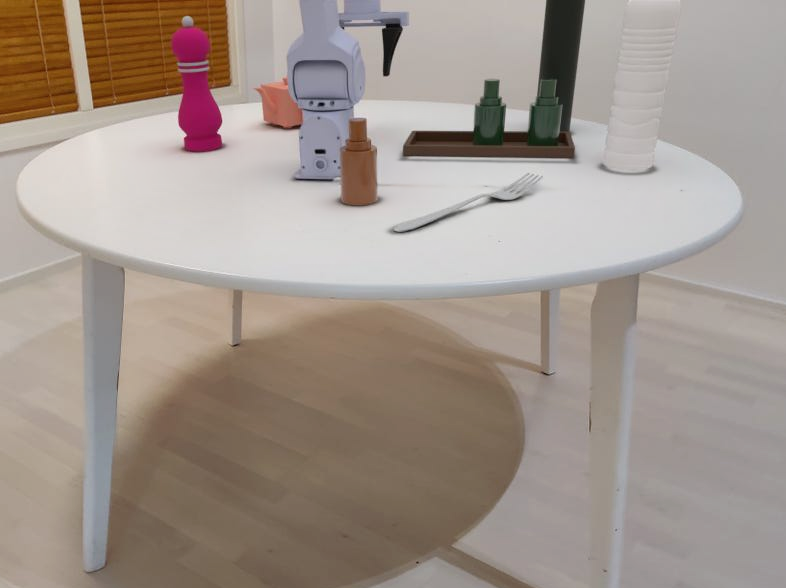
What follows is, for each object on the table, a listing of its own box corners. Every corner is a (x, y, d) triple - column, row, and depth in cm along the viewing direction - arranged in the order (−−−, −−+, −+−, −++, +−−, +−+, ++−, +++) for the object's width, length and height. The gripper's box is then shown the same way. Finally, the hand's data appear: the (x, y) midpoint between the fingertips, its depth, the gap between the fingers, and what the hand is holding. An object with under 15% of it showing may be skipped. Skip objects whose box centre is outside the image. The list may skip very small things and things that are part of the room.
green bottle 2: (558, 152, 104) (566, 81, 99) (526, 152, 105) (532, 81, 100) (556, 145, 108) (564, 76, 103) (525, 145, 109) (531, 77, 104)
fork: (385, 228, 80) (385, 212, 79) (524, 185, 92) (526, 171, 92) (405, 235, 78) (405, 219, 77) (545, 190, 90) (546, 176, 89)
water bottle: (631, 176, 94) (668, -39, 82) (591, 167, 99) (620, -38, 86) (671, 165, 98) (712, -42, 86) (631, 156, 103) (664, -41, 90)
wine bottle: (564, 128, 121) (588, -78, 106) (573, 136, 116) (599, -80, 101) (530, 130, 121) (549, -76, 106) (537, 137, 116) (559, -78, 101)
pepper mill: (229, 142, 122) (215, 13, 112) (219, 152, 116) (203, 16, 106) (188, 142, 123) (171, 15, 113) (176, 152, 116) (156, 18, 107)
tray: (573, 162, 101) (574, 147, 100) (403, 159, 107) (403, 145, 106) (568, 145, 110) (570, 131, 109) (411, 143, 116) (412, 130, 114)
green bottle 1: (502, 152, 106) (508, 82, 101) (471, 151, 107) (475, 82, 102) (503, 145, 110) (508, 77, 105) (473, 144, 111) (476, 77, 106)
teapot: (241, 125, 134) (236, 78, 130) (307, 114, 141) (305, 69, 137) (272, 135, 125) (268, 85, 121) (341, 122, 132) (340, 75, 128)
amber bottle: (374, 206, 87) (373, 123, 82) (337, 205, 88) (334, 123, 83) (380, 195, 91) (379, 115, 86) (345, 194, 92) (342, 115, 87)
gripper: (412, -21, 110) (411, 72, 117) (323, -18, 114) (327, 72, 120) (404, -20, 104) (403, 78, 111) (311, -17, 108) (315, 78, 114)
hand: (363, 75), depth 115 cm, fingers open, 7 cm apart
